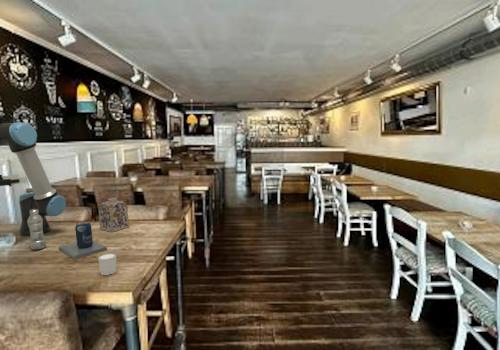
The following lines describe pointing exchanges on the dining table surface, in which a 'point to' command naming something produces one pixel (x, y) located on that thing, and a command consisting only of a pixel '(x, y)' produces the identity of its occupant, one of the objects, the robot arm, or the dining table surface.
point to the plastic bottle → (36, 230)
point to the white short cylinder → (107, 264)
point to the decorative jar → (113, 215)
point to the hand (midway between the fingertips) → (22, 178)
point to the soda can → (84, 234)
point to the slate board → (81, 250)
